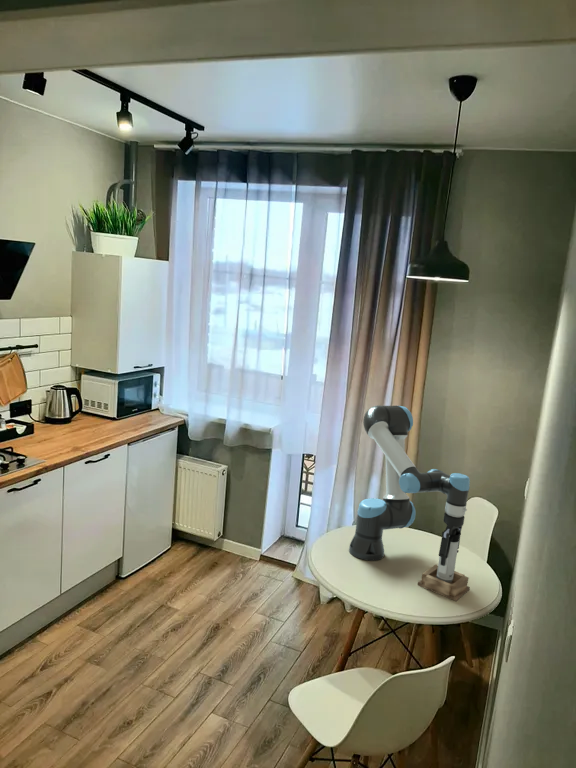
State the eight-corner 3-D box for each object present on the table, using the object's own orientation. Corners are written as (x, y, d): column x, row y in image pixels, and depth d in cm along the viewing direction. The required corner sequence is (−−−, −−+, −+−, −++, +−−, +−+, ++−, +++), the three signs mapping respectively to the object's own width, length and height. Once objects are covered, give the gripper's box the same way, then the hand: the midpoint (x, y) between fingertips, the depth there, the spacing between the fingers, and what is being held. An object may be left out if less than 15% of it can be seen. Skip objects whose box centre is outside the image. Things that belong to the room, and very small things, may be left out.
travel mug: (454, 584, 221) (461, 535, 218) (436, 581, 222) (444, 532, 219) (452, 577, 227) (460, 529, 224) (435, 574, 228) (443, 526, 225)
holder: (417, 585, 224) (418, 573, 223) (432, 574, 235) (434, 562, 234) (455, 601, 214) (457, 589, 213) (470, 589, 225) (472, 577, 224)
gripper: (453, 522, 211) (444, 581, 214) (473, 511, 225) (464, 566, 229) (434, 516, 215) (426, 573, 219) (455, 505, 230) (447, 559, 233)
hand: (446, 569), depth 224 cm, fingers closed on travel mug, 6 cm apart
